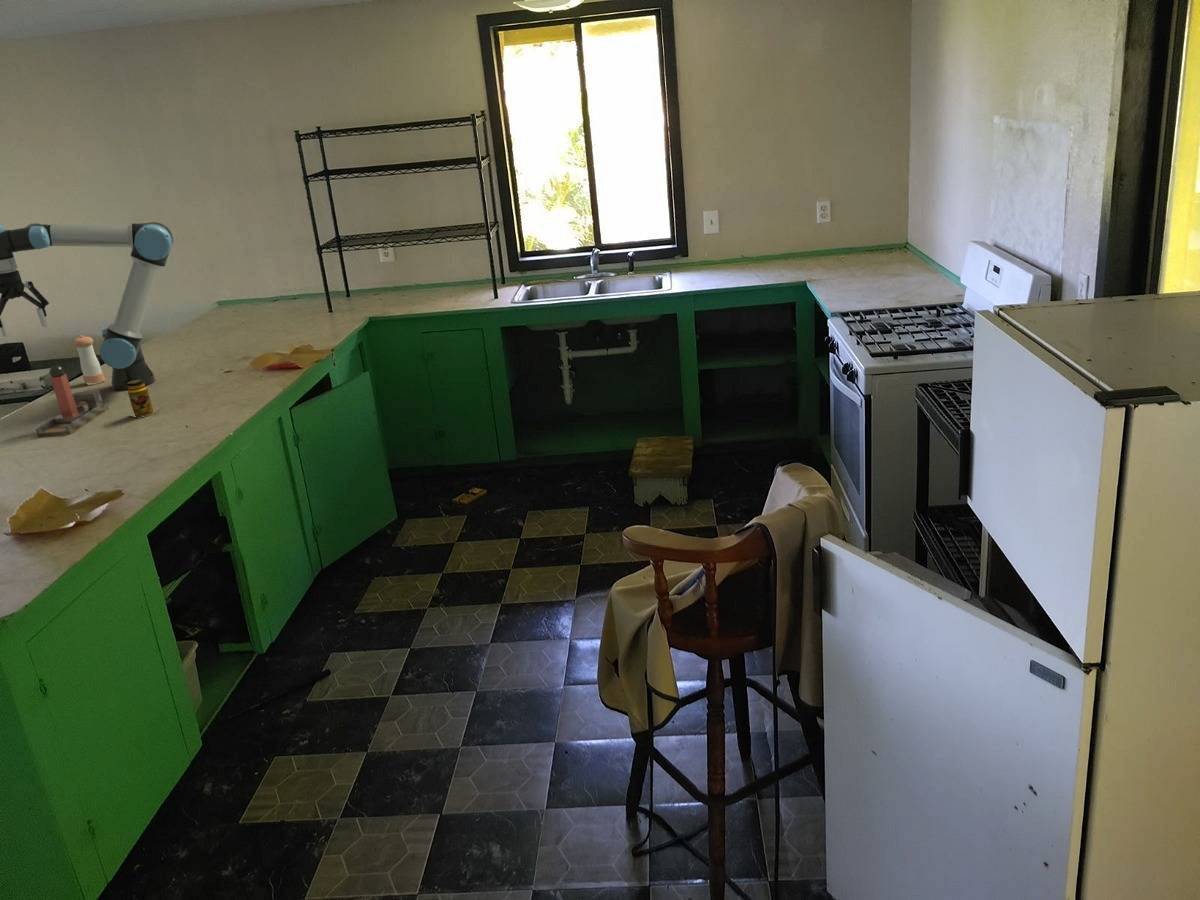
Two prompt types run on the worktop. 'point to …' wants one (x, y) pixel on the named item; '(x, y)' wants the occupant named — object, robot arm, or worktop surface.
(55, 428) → the press base
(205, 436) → the worktop surface
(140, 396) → the condiment
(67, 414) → the handle carriage
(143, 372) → the robot arm
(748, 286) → the worktop surface
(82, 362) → the pepper shaker
